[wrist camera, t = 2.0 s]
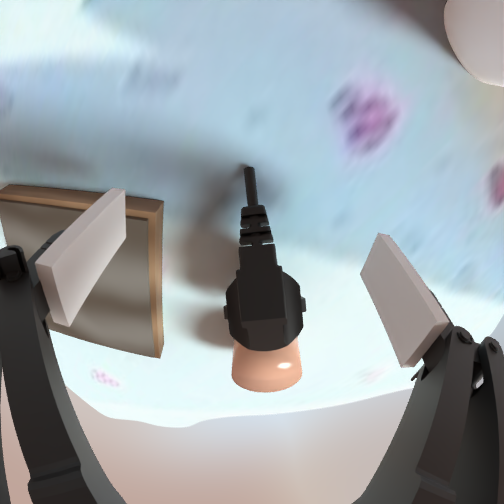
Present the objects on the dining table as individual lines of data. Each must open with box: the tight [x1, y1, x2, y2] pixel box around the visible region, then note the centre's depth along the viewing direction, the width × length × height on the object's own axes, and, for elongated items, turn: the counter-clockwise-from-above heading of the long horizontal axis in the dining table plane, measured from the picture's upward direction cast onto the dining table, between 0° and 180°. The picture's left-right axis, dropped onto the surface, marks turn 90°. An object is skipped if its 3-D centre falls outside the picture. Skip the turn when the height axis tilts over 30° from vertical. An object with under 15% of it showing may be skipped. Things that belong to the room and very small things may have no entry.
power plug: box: [224, 167, 306, 351], centre depth 20 cm, size 6×8×12 cm
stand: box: [0, 185, 164, 358], centre depth 22 cm, size 16×16×2 cm
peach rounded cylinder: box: [232, 337, 302, 392], centre depth 25 cm, size 6×6×5 cm
